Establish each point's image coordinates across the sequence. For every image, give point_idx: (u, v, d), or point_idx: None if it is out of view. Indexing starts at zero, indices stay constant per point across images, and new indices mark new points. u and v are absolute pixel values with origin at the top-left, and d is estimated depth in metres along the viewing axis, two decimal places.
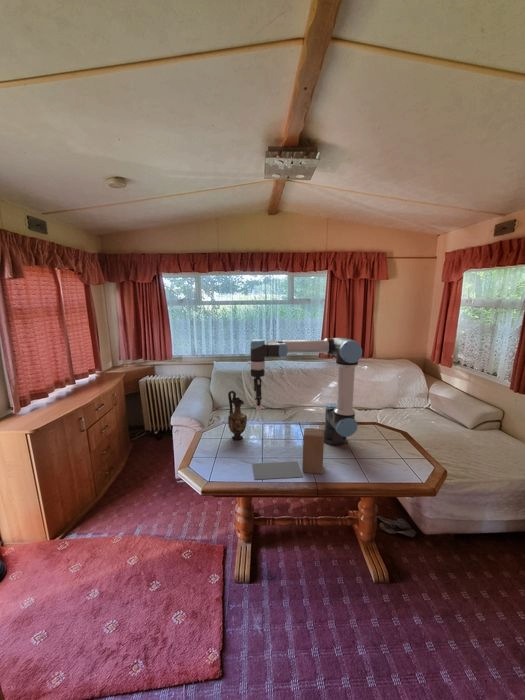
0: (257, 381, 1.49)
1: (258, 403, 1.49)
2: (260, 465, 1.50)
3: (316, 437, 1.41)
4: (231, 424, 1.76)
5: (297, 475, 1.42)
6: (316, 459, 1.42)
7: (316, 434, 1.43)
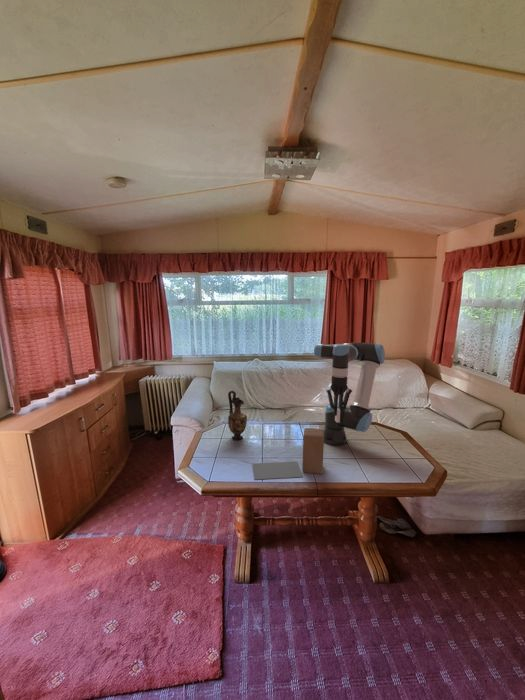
0: (326, 390, 1.43)
1: (333, 412, 1.45)
2: (260, 465, 1.50)
3: (316, 437, 1.41)
4: (231, 424, 1.76)
5: (297, 475, 1.42)
6: (316, 459, 1.42)
7: (316, 434, 1.43)
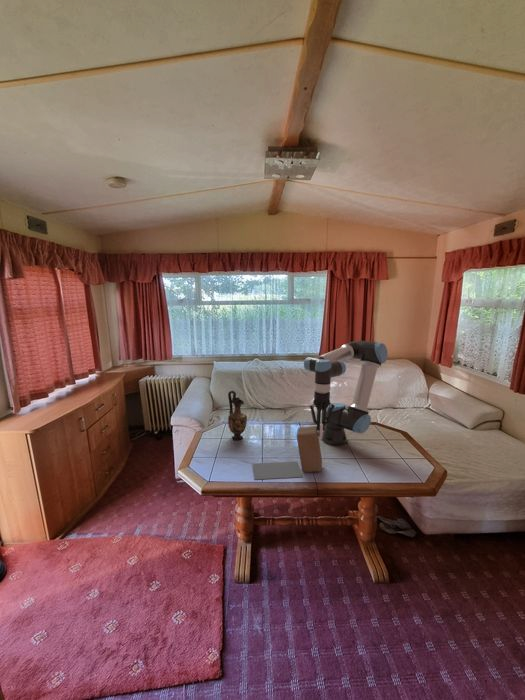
0: (309, 406, 1.44)
1: None
2: (260, 465, 1.50)
3: (309, 435, 1.41)
4: (231, 424, 1.76)
5: (297, 475, 1.42)
6: (313, 456, 1.42)
7: (309, 432, 1.43)
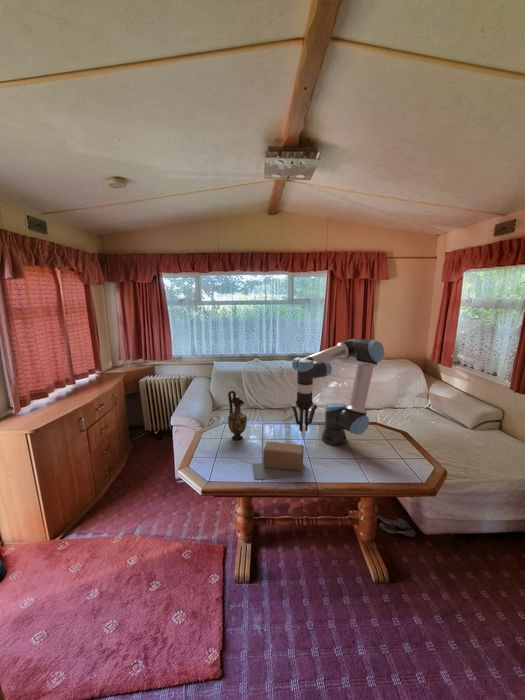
0: (291, 406, 1.43)
1: (299, 428, 1.45)
2: (260, 465, 1.50)
3: (264, 456, 1.48)
4: (231, 424, 1.76)
5: (297, 475, 1.42)
6: (285, 458, 1.45)
7: None
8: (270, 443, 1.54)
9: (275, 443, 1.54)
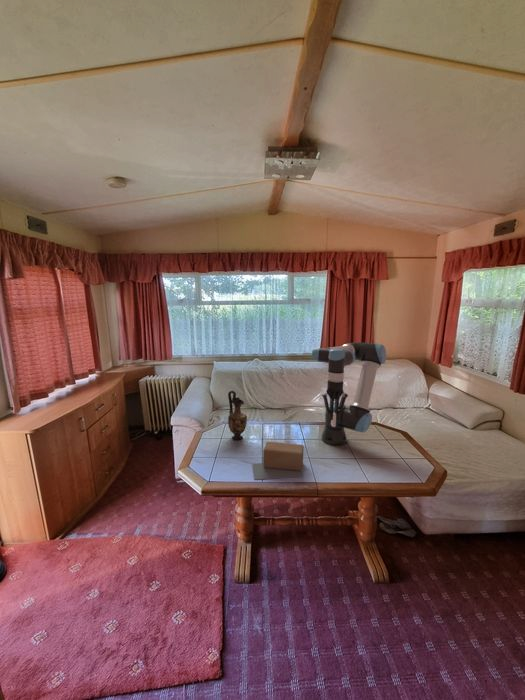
0: (322, 395, 1.44)
1: (329, 416, 1.45)
2: (260, 465, 1.50)
3: (264, 456, 1.48)
4: (231, 424, 1.76)
5: (297, 475, 1.42)
6: (285, 458, 1.45)
7: None
8: (270, 443, 1.54)
9: (275, 443, 1.54)
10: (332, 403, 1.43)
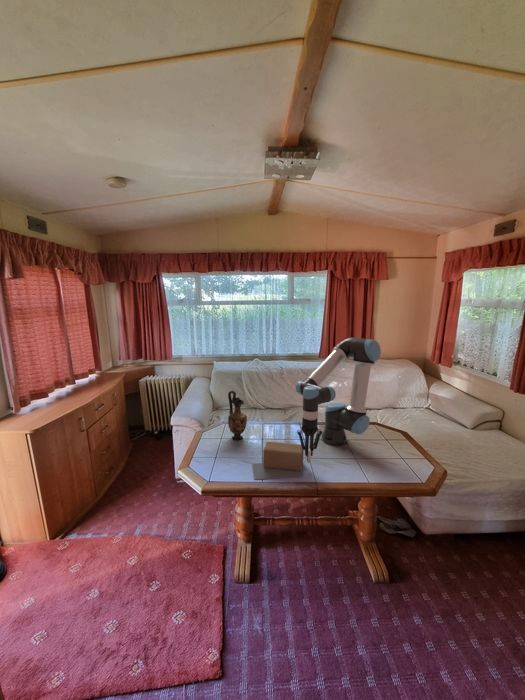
0: (297, 432, 1.45)
1: (305, 453, 1.47)
2: (260, 465, 1.50)
3: (264, 456, 1.48)
4: (231, 424, 1.76)
5: (297, 475, 1.42)
6: (285, 458, 1.45)
7: None
8: (270, 443, 1.53)
9: (275, 443, 1.54)
10: (307, 440, 1.45)
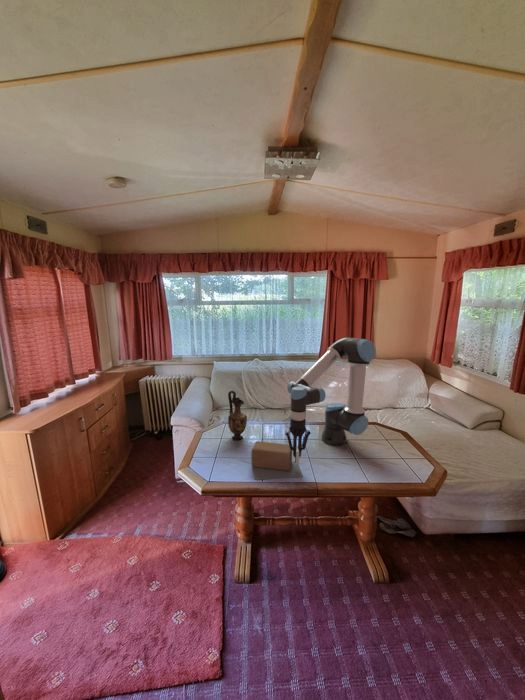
0: (285, 432, 1.45)
1: (293, 453, 1.46)
2: None
3: (252, 455, 1.48)
4: (231, 424, 1.76)
5: (297, 475, 1.42)
6: (273, 457, 1.45)
7: None
8: (259, 443, 1.54)
9: (264, 443, 1.54)
10: (295, 441, 1.44)
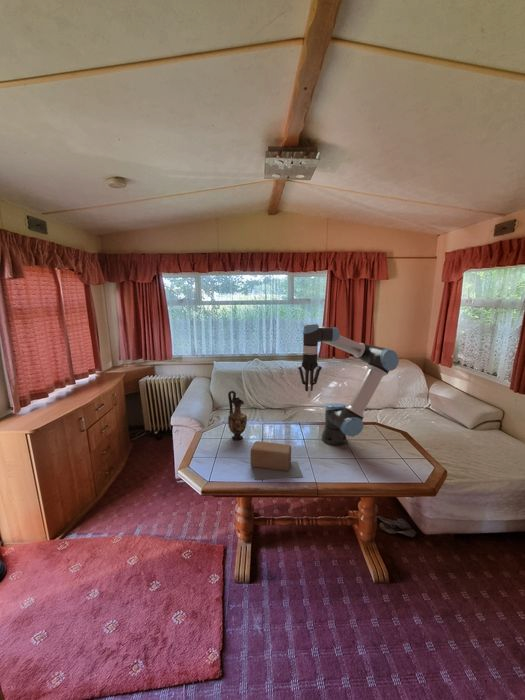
0: (297, 367, 1.53)
1: (305, 388, 1.54)
2: None
3: (251, 455, 1.48)
4: (231, 424, 1.76)
5: (297, 475, 1.42)
6: (272, 457, 1.46)
7: None
8: (258, 443, 1.54)
9: (263, 443, 1.54)
10: (307, 375, 1.52)
